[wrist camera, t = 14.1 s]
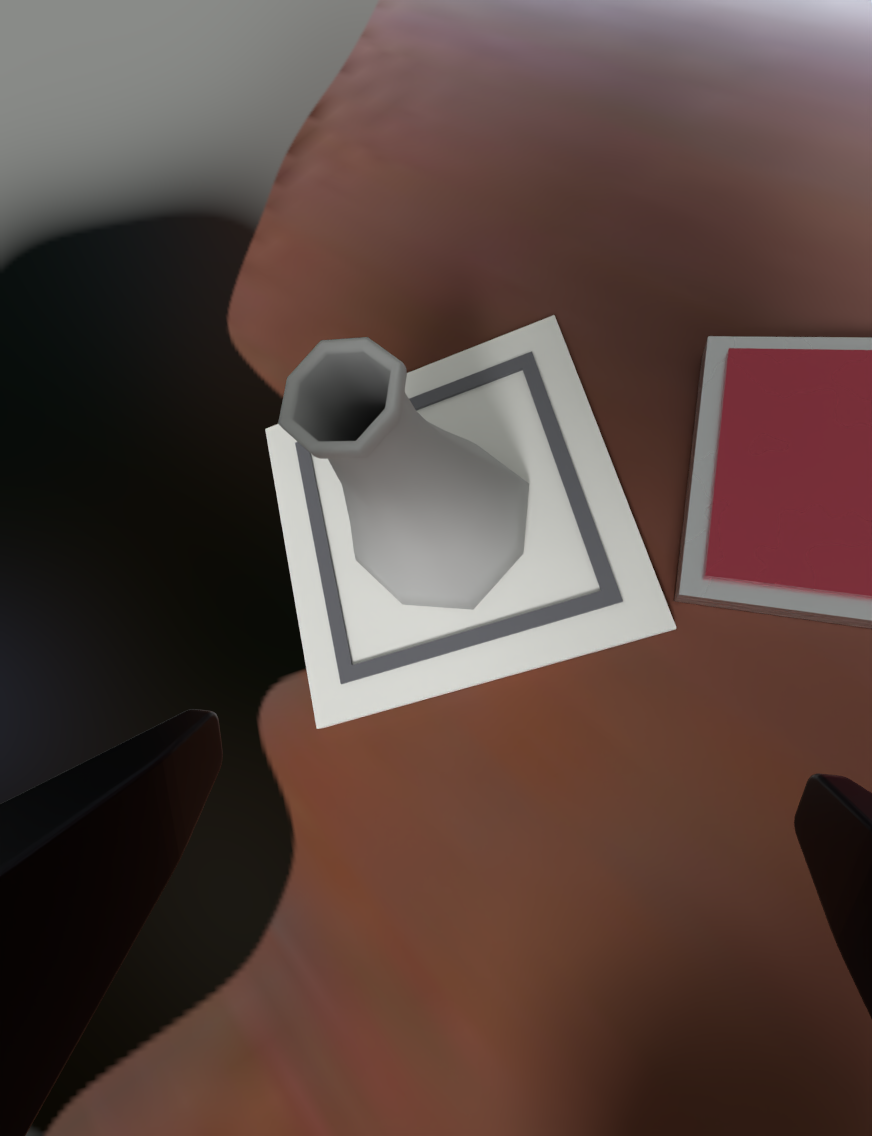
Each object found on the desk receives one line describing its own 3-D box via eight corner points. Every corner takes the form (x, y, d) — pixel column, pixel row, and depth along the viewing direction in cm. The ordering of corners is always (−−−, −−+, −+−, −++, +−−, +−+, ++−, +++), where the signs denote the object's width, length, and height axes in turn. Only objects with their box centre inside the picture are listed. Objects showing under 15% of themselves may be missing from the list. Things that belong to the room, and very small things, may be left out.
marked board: (674, 629, 20) (677, 627, 19) (321, 728, 22) (315, 728, 22) (555, 321, 24) (554, 312, 24) (269, 432, 27) (263, 427, 26)
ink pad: (1023, 649, 17) (1062, 643, 16) (674, 601, 20) (680, 592, 19) (1019, 360, 19) (1053, 332, 18) (701, 355, 22) (709, 331, 21)
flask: (331, 573, 23) (160, 480, 14) (403, 424, 24) (287, 243, 15) (486, 642, 21) (404, 584, 12) (560, 472, 22) (538, 294, 13)
